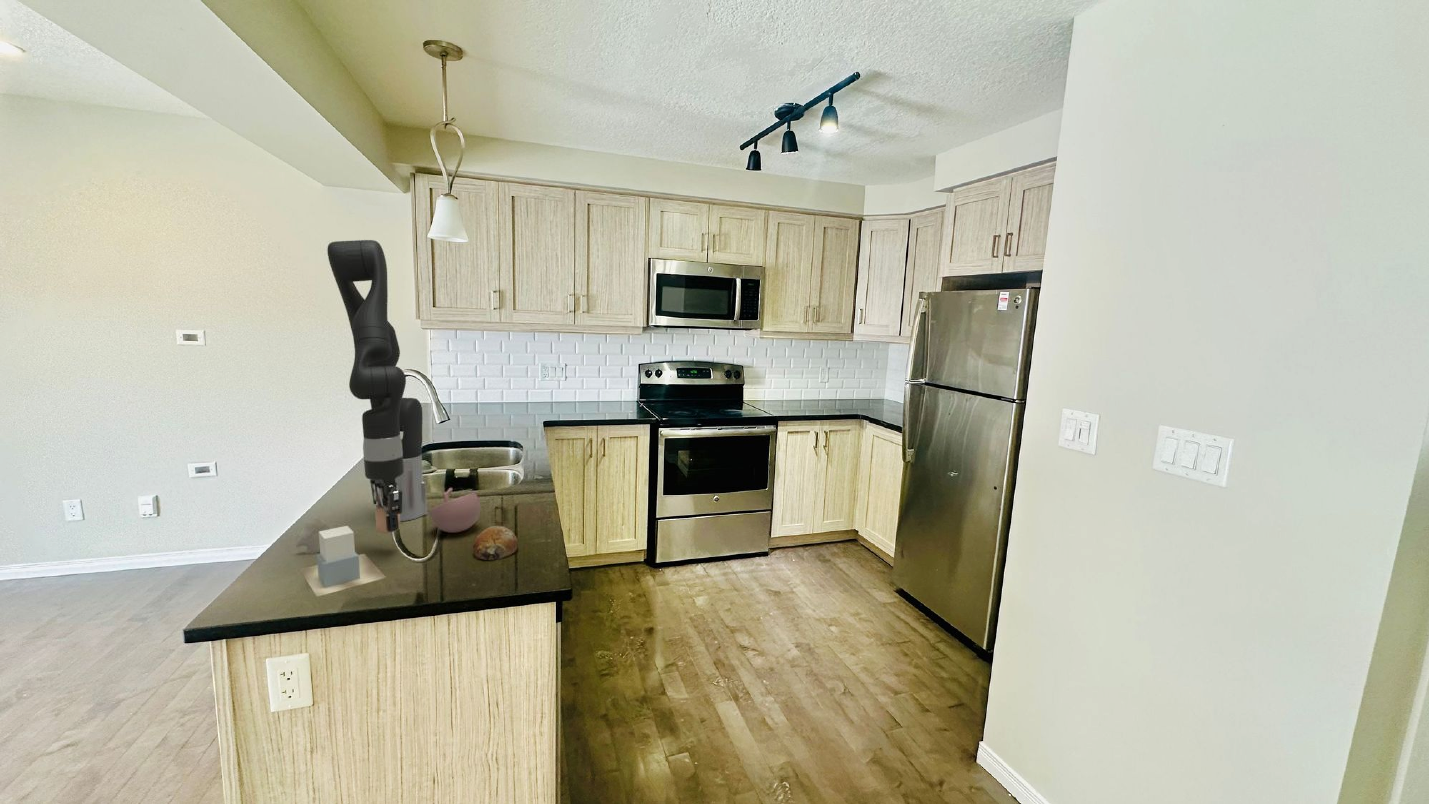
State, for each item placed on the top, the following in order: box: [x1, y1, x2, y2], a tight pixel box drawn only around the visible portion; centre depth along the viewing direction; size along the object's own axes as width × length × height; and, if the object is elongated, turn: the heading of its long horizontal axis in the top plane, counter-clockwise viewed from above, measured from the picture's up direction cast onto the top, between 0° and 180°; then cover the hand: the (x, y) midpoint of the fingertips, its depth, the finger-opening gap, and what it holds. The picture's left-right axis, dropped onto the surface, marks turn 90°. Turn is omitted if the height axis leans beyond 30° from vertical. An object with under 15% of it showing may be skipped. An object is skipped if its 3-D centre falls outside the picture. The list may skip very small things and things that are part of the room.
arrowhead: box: [294, 516, 331, 554], centre depth 127 cm, size 8×3×10 cm, turn 118°
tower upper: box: [319, 525, 356, 563], centre depth 114 cm, size 5×5×5 cm
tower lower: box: [316, 551, 360, 588], centre depth 115 cm, size 6×6×5 cm
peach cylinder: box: [374, 506, 402, 534], centre depth 127 cm, size 5×5×5 cm
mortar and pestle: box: [429, 487, 481, 534], centre depth 145 cm, size 12×12×12 cm
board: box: [299, 553, 387, 598], centre depth 117 cm, size 12×16×2 cm
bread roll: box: [472, 525, 519, 561], centre depth 134 cm, size 10×10×8 cm
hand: (388, 526), depth 127 cm, fingers closed on peach cylinder, 4 cm apart
